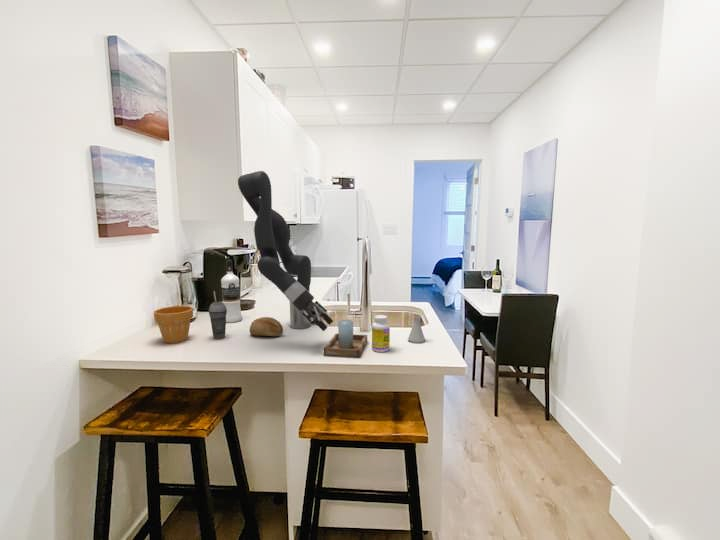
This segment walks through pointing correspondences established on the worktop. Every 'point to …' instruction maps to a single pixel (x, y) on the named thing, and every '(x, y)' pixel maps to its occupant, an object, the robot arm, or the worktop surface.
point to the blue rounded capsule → (345, 334)
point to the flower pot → (174, 322)
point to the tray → (355, 352)
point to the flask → (416, 331)
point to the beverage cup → (218, 318)
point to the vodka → (231, 295)
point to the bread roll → (266, 327)
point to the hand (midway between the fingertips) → (328, 326)
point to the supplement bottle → (380, 334)
